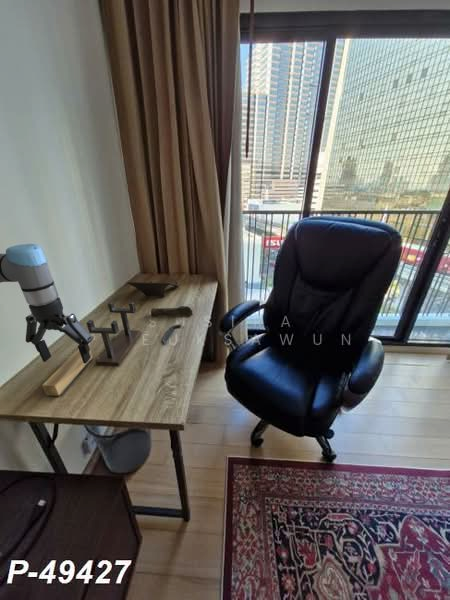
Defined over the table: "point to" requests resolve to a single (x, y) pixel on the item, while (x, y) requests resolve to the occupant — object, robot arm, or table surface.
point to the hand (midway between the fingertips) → (67, 359)
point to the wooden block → (66, 374)
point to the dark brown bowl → (152, 288)
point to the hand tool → (171, 311)
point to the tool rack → (122, 342)
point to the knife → (170, 333)
